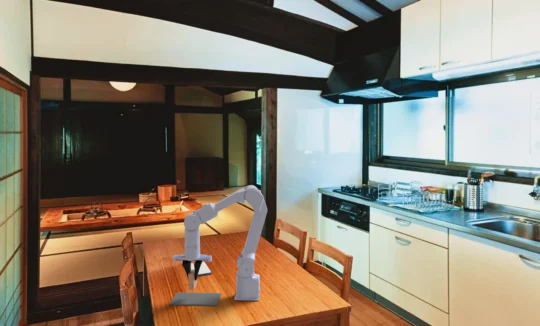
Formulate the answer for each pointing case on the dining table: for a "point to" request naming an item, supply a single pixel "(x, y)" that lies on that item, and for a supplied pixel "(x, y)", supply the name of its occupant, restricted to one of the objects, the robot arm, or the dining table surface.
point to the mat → (196, 299)
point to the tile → (192, 280)
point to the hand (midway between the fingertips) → (192, 279)
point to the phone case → (202, 269)
